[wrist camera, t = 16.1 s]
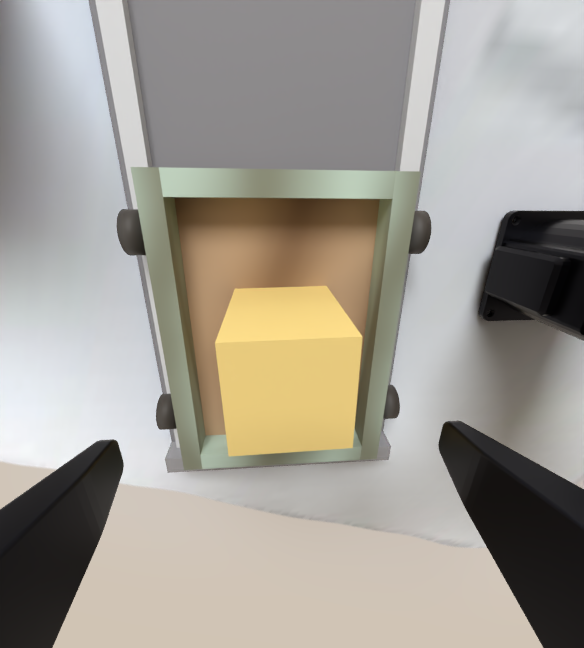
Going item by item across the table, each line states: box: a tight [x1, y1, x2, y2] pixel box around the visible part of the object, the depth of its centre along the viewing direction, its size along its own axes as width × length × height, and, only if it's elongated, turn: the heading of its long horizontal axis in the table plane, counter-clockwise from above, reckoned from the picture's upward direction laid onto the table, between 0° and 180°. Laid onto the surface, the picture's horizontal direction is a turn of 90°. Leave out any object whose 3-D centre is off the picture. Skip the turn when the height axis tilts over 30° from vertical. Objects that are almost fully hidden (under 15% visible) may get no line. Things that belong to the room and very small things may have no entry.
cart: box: [117, 167, 431, 470], centre depth 16 cm, size 14×15×3 cm
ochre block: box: [215, 286, 362, 457], centre depth 13 cm, size 4×4×6 cm
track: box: [89, 0, 450, 473], centre depth 16 cm, size 15×28×2 cm, turn 0°
